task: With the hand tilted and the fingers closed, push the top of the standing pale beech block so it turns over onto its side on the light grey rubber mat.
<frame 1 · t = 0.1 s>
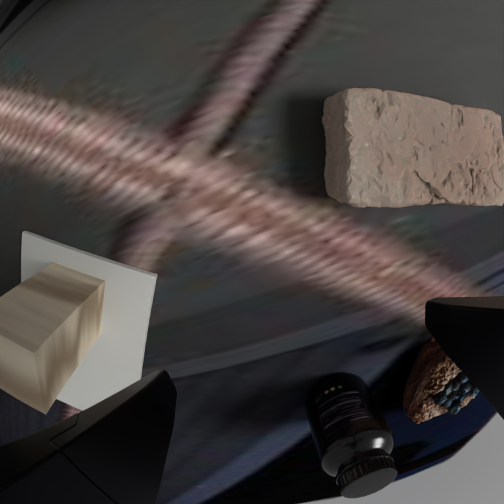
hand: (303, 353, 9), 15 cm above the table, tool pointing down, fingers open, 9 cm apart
pastry: (442, 367, 29), on the table
mat: (78, 343, 25), on the table
brick: (411, 152, 22), on the table
supplement bottle: (335, 393, 28), on the table
block: (76, 299, 23), point 1 cm above the table, touching mat
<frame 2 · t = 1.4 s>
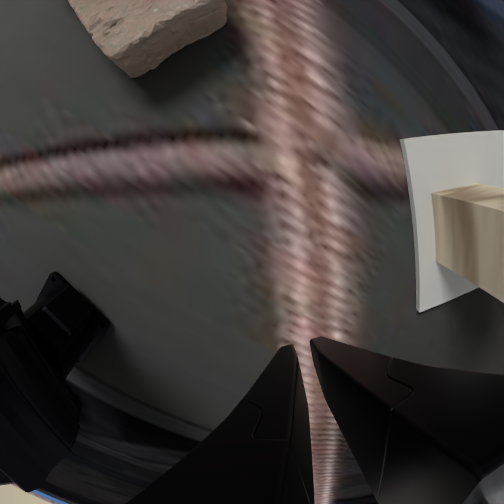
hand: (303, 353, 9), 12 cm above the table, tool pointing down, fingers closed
mat: (493, 207, 20), on the table
block: (458, 221, 20), point 1 cm above the table, touching mat
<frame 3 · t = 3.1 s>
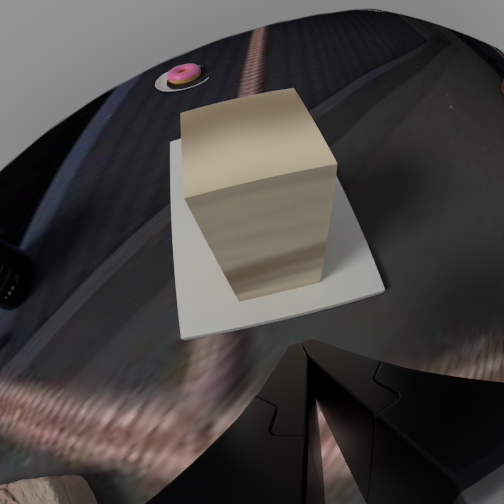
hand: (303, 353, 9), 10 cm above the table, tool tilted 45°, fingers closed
mat: (255, 201, 24), on the table
supplement bottle: (16, 283, 24), on the table
block: (270, 256, 21), point 1 cm above the table, touching mat
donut: (176, 87, 37), on the table
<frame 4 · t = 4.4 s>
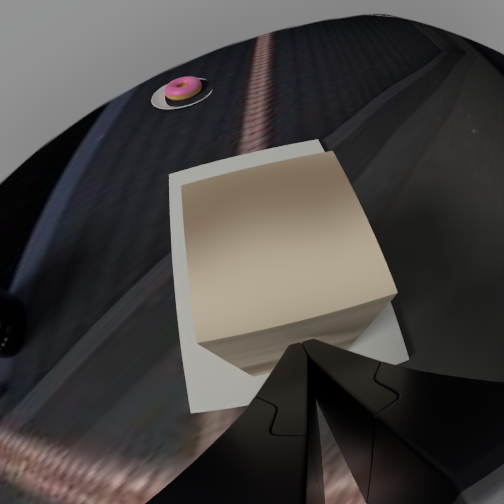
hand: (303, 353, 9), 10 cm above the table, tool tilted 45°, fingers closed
mat: (269, 253, 22), on the table
supplement bottle: (10, 328, 22), on the table
block: (287, 324, 18), point 1 cm above the table, touching mat
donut: (174, 103, 35), on the table
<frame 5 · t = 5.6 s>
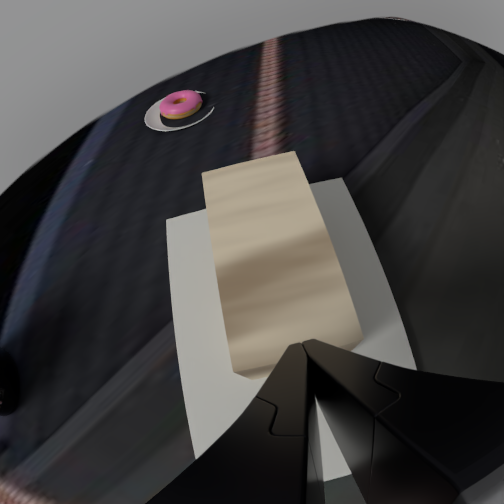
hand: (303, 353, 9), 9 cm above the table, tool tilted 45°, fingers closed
mat: (287, 328, 18), on the table
supplement bottle: (3, 383, 18), on the table
block: (299, 364, 14), point 3 cm above the table, tilted 90°, touching mat
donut: (171, 122, 31), on the table
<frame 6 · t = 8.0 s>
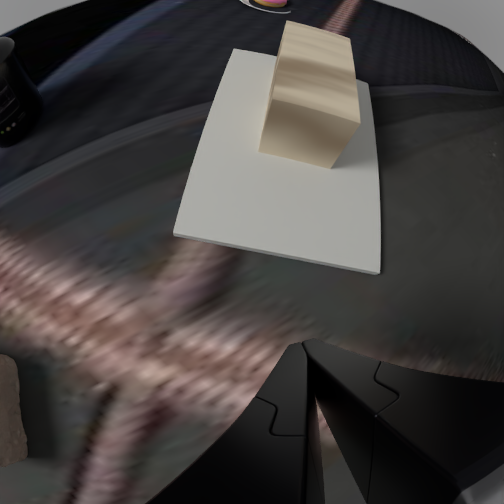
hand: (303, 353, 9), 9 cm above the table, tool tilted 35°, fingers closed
mat: (295, 137, 22), on the table
supplement bottle: (17, 123, 20), on the table
block: (305, 137, 18), point 3 cm above the table, tilted 90°, touching mat
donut: (255, 5, 30), on the table
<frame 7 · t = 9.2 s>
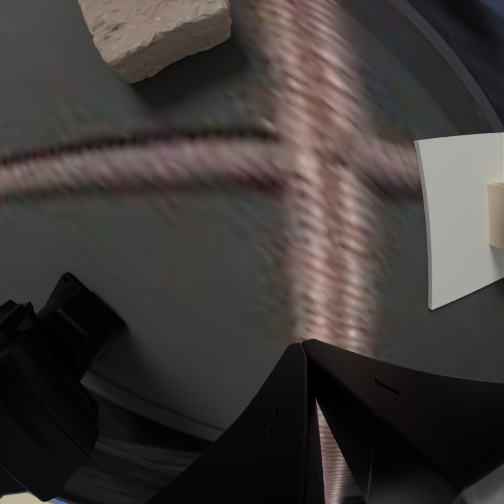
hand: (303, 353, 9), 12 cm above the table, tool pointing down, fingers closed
mat: (501, 207, 20), on the table
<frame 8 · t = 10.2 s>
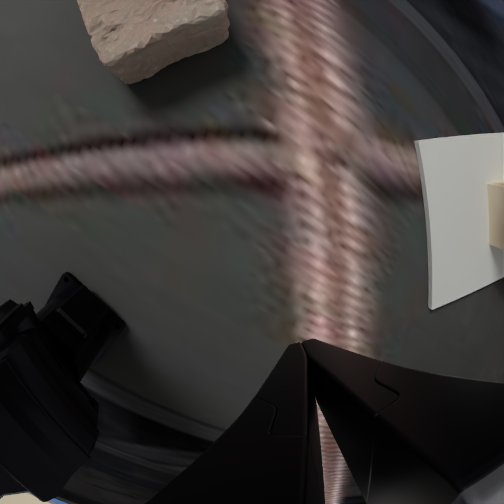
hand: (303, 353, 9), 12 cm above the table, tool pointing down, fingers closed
mat: (501, 207, 20), on the table
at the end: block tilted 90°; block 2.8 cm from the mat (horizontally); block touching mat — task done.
